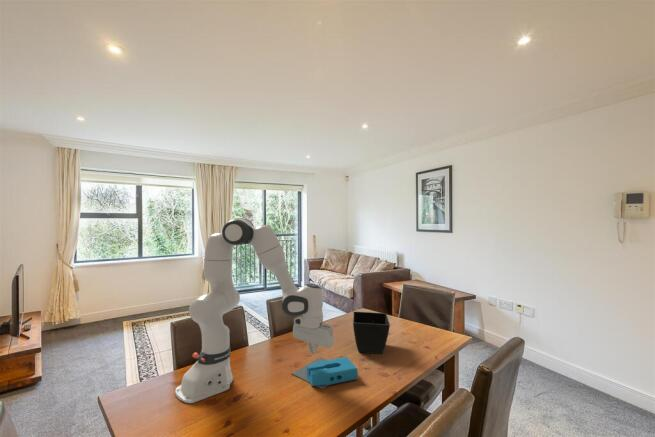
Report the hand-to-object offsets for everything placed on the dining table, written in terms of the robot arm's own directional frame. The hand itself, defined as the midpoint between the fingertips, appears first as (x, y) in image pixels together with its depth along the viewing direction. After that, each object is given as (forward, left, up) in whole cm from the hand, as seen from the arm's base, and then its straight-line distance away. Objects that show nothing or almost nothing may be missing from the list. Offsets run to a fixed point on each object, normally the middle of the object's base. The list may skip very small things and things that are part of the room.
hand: (312, 352), depth 127 cm
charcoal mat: (+6, 0, -11) cm, 13 cm away
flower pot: (+42, -5, -12) cm, 44 cm away
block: (-4, -1, -8) cm, 9 cm away
